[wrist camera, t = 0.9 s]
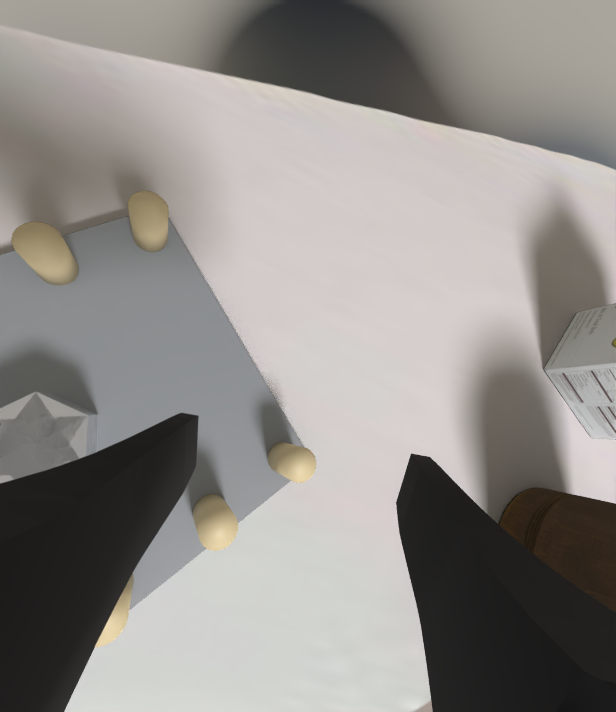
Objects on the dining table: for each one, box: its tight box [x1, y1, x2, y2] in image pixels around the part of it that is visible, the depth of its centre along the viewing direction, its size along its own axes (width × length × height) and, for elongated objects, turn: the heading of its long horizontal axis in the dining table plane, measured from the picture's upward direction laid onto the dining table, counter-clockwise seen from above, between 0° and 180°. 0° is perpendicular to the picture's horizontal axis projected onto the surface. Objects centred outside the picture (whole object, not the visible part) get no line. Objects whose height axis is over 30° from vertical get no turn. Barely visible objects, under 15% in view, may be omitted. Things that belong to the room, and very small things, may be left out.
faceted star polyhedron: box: [0, 392, 98, 483], centre depth 20 cm, size 6×5×4 cm
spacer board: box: [0, 191, 316, 647], centre depth 22 cm, size 20×24×5 cm
